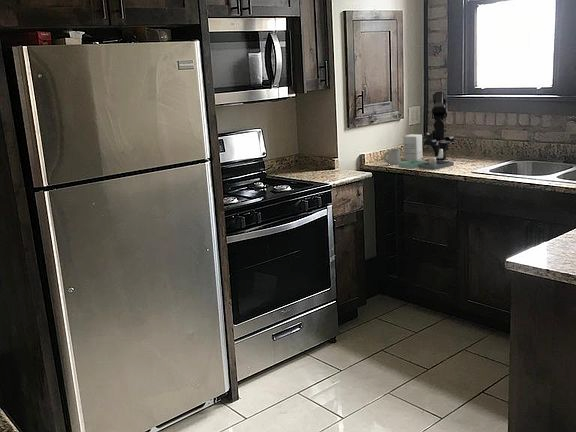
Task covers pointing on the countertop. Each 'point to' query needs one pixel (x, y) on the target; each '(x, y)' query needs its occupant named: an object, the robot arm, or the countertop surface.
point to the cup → (392, 157)
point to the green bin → (411, 163)
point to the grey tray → (438, 165)
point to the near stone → (440, 153)
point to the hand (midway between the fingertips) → (439, 155)
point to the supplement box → (412, 147)
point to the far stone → (432, 161)
